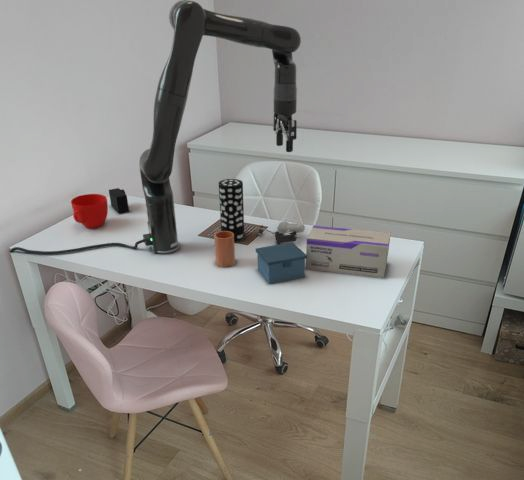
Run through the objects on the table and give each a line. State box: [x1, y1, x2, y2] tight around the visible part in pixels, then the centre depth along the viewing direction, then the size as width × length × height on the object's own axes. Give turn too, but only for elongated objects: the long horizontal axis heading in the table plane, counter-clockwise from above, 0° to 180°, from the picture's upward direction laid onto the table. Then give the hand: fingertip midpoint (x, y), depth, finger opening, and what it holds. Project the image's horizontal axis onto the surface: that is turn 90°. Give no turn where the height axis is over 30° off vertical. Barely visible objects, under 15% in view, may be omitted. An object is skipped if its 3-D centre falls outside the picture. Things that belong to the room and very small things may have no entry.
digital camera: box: [108, 187, 130, 215], centre depth 219 cm, size 10×5×7 cm, turn 30°
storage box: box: [254, 242, 307, 284], centre depth 171 cm, size 13×11×8 cm
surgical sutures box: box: [305, 225, 391, 279], centre depth 173 cm, size 25×11×11 cm, turn 74°
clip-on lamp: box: [255, 220, 306, 245], centre depth 194 cm, size 12×6×18 cm
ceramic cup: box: [70, 193, 109, 229], centre depth 203 cm, size 13×17×10 cm
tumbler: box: [213, 230, 236, 268], centre depth 176 cm, size 6×6×10 cm
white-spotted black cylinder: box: [218, 178, 245, 243], centre depth 191 cm, size 8×8×20 cm
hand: (284, 148), depth 186 cm, fingers open, 8 cm apart
